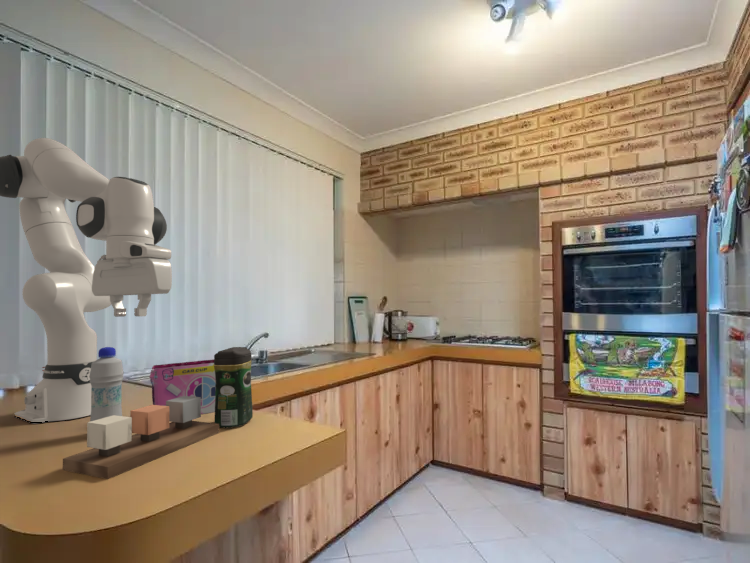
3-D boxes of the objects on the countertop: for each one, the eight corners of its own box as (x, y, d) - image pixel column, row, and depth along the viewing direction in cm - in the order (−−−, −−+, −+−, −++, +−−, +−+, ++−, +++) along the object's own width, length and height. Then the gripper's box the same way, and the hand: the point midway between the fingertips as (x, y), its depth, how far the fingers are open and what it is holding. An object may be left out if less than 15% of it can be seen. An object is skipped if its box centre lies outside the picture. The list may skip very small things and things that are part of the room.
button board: (62, 469, 74) (63, 438, 74) (180, 427, 98) (180, 404, 98) (107, 479, 69) (108, 446, 70) (219, 432, 94) (219, 408, 94)
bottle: (93, 431, 97) (94, 346, 98) (126, 428, 99) (126, 344, 100) (84, 440, 90) (85, 349, 91) (119, 436, 93) (120, 347, 94)
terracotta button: (130, 432, 83) (130, 410, 83) (152, 425, 87) (152, 404, 87) (148, 435, 81) (148, 412, 81) (169, 427, 85) (169, 406, 86)
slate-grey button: (166, 421, 90) (166, 400, 91) (184, 415, 95) (184, 395, 95) (183, 423, 89) (182, 402, 89) (200, 416, 93) (200, 397, 93)
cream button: (87, 446, 75) (87, 422, 75) (113, 438, 79) (113, 415, 80) (105, 450, 73) (105, 424, 73) (131, 440, 77) (131, 417, 78)
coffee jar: (226, 417, 106) (226, 345, 107) (256, 417, 105) (255, 345, 106) (208, 429, 96) (208, 350, 97) (241, 429, 96) (240, 349, 97)
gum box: (151, 423, 103) (151, 369, 103) (146, 417, 109) (146, 365, 110) (245, 407, 117) (245, 359, 118) (236, 402, 123) (236, 356, 124)
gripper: (83, 253, 89) (82, 317, 88) (151, 247, 81) (150, 316, 81) (111, 256, 95) (111, 316, 94) (177, 250, 87) (177, 315, 87)
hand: (130, 316), depth 87 cm, fingers open, 5 cm apart
